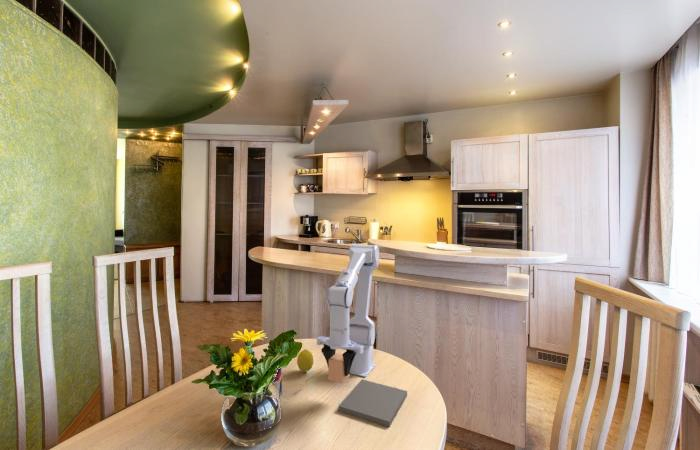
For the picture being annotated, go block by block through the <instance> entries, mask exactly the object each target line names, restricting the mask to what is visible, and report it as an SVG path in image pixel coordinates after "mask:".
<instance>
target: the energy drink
mask: <svg viewBox="0 0 700 450" xmlns="http://www.w3.org/2000/svg"><path fill="white" fill-rule="evenodd" d="M272 385H273V386H275V388H276V389H277V391H278V393H279V396H280V397H281V396H282V395H283V367H282V368H280V369H278V372H277V375H276V377H275V380H274V381H273V382H272Z"/></svg>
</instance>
